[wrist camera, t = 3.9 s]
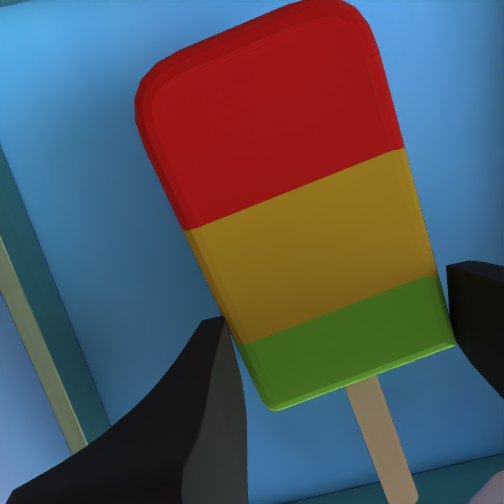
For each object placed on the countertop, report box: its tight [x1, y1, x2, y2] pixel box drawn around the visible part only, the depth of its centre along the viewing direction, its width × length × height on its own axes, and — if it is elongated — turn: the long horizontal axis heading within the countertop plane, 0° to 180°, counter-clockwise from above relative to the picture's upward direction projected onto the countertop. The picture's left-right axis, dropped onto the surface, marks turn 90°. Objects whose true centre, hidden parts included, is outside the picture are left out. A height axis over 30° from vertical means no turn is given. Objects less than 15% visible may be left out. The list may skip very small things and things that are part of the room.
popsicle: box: [134, 0, 456, 504], centre depth 13 cm, size 6×15×2 cm, turn 21°
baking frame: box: [0, 0, 504, 504], centre depth 14 cm, size 17×20×2 cm
